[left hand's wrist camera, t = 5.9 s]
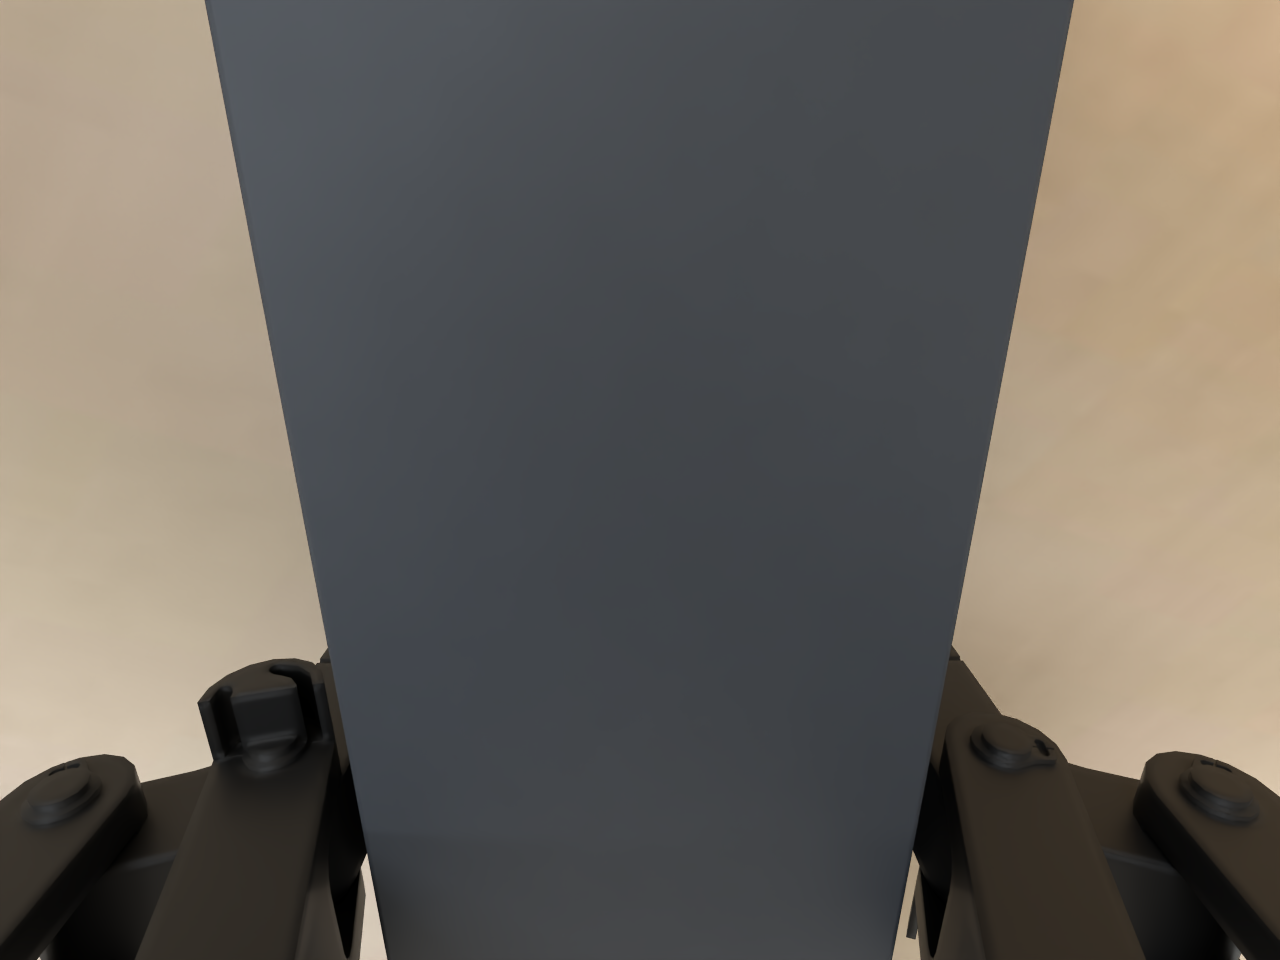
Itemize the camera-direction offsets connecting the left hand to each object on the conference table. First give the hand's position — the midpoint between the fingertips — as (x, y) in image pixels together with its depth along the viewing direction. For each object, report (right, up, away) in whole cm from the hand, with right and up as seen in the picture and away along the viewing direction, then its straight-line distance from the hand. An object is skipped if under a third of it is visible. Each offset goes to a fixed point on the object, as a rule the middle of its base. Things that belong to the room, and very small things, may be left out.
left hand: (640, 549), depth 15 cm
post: (0, +30, -11) cm, 31 cm away
